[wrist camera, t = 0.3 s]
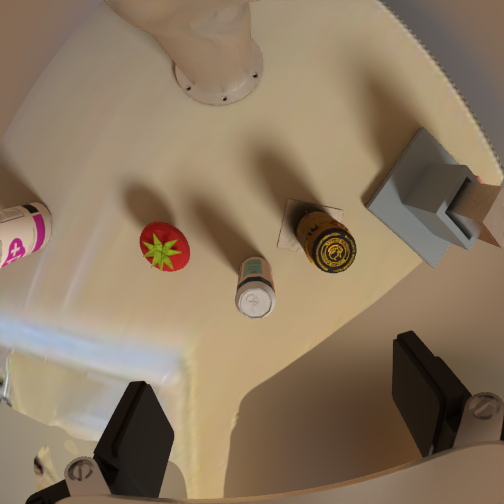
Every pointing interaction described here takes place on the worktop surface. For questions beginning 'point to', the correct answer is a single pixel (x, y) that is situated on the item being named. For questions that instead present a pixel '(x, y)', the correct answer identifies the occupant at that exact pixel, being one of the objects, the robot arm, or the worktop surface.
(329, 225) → the condiment
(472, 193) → the block
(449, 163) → the sleeve
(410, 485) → the robot arm
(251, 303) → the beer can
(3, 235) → the supplement can
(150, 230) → the strawberry
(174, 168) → the worktop surface
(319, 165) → the worktop surface
